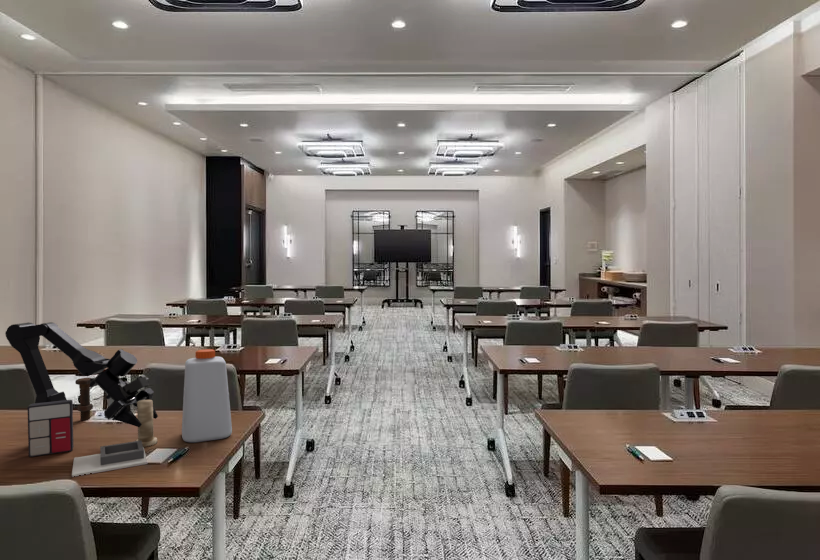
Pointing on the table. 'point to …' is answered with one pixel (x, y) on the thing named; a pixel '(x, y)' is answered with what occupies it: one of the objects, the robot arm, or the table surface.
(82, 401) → the bolt
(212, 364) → the plastic bottle
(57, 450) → the calculator
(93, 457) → the collar board
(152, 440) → the peg
